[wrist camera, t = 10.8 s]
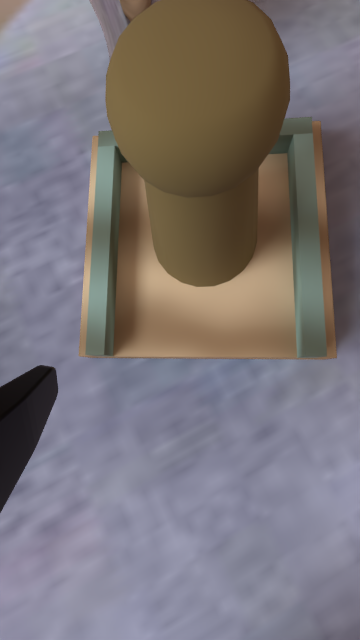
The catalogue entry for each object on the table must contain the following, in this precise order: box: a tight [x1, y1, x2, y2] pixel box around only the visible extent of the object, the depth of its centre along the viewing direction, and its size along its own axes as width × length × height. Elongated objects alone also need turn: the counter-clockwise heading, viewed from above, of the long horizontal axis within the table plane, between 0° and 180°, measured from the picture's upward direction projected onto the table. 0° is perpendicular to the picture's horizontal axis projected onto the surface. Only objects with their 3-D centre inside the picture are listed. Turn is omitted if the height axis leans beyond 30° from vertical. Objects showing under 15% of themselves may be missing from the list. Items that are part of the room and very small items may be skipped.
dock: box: [79, 117, 337, 359], centre depth 19 cm, size 14×14×4 cm
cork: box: [106, 0, 290, 287], centre depth 13 cm, size 6×6×11 cm
